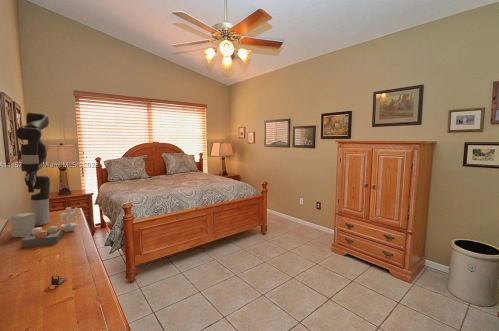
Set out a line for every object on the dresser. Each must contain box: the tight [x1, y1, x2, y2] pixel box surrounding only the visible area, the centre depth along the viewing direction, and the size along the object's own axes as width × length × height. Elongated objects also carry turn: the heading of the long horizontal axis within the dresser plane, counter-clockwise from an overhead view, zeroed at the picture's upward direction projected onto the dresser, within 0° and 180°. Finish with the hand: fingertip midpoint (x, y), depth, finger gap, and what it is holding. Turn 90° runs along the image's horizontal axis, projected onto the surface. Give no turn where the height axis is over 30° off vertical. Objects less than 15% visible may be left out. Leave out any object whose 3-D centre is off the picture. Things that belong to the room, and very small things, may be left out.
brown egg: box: [37, 229, 48, 238], centre depth 134 cm, size 4×4×6 cm
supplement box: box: [11, 212, 36, 238], centre depth 143 cm, size 7×7×13 cm
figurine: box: [58, 206, 79, 233], centre depth 154 cm, size 7×9×15 cm
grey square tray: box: [21, 228, 63, 248], centre depth 137 cm, size 14×15×4 cm
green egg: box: [47, 225, 58, 233], centre depth 141 cm, size 4×4×6 cm
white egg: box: [32, 227, 43, 235], centre depth 137 cm, size 4×4×6 cm
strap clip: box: [50, 274, 68, 286], centre depth 96 cm, size 8×3×4 cm, turn 179°
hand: (31, 192), depth 139 cm, fingers closed
